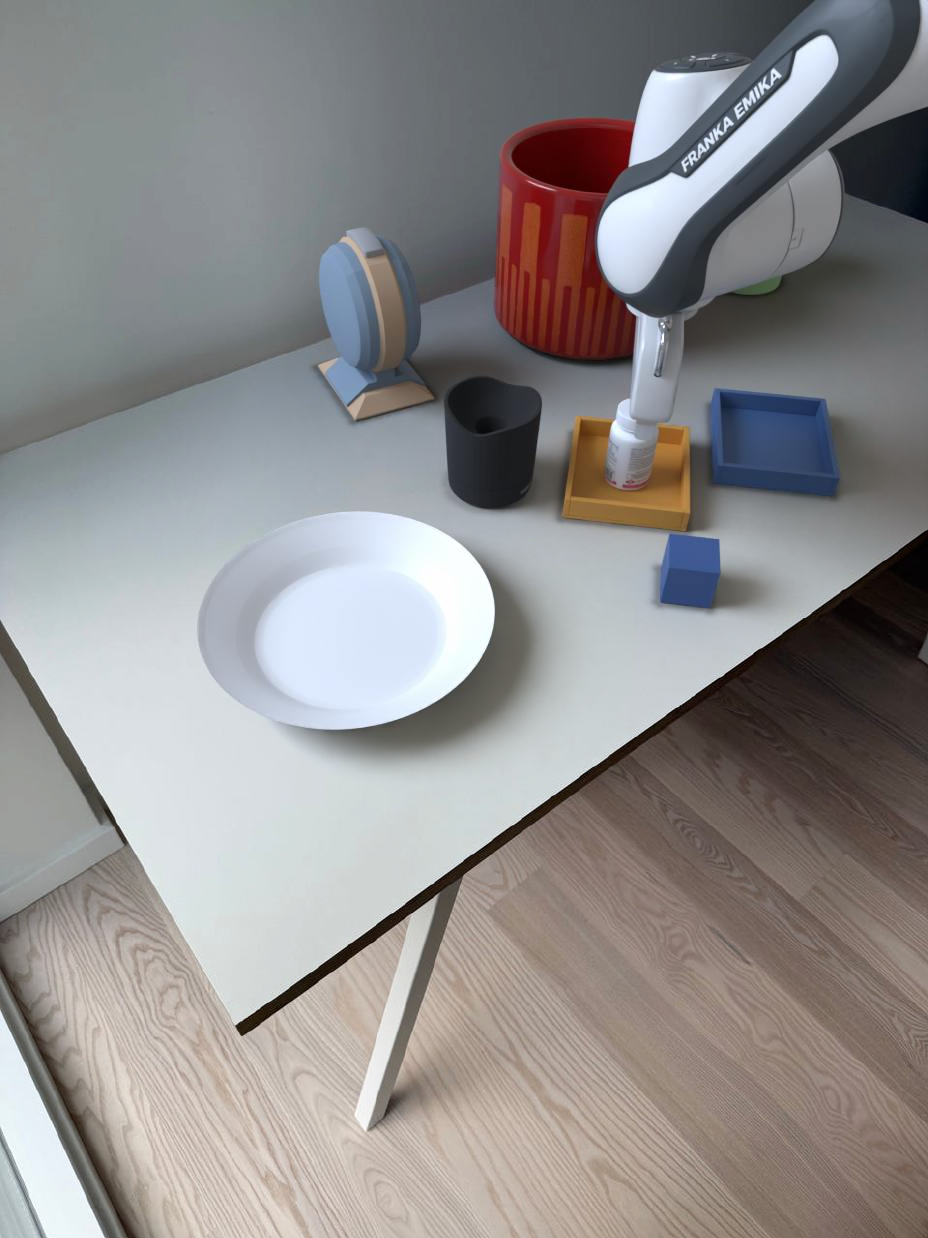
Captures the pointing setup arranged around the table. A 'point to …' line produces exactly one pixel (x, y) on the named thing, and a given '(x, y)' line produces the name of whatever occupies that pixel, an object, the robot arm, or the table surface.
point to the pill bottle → (628, 453)
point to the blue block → (690, 570)
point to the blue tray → (772, 442)
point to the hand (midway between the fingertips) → (645, 406)
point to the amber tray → (602, 502)
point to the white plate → (345, 620)
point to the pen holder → (491, 440)
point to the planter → (560, 238)
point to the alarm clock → (371, 324)
